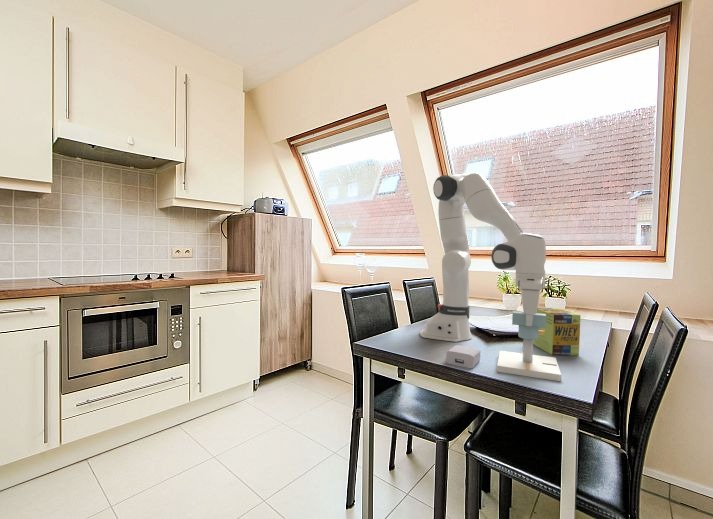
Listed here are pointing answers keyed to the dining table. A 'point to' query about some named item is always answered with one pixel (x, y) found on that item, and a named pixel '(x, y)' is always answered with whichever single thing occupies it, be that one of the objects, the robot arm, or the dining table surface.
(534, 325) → the coupling
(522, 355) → the post base
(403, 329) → the dining table surface
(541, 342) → the protein box
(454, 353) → the charger
